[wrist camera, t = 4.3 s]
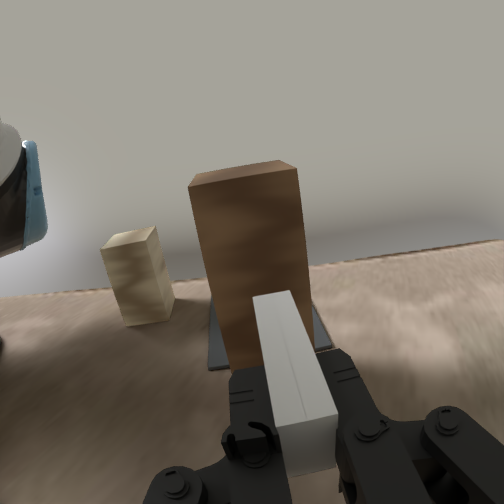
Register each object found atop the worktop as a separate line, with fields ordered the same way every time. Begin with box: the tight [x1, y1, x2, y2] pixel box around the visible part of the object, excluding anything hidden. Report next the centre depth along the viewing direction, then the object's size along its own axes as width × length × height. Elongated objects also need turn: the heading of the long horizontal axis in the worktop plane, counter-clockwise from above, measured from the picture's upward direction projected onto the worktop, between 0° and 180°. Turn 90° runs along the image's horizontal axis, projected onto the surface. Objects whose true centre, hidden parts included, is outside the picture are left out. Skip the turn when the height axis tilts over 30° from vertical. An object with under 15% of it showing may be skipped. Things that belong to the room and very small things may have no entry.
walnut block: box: [188, 160, 315, 374], centre depth 19 cm, size 5×5×15 cm
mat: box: [208, 294, 332, 370], centre depth 31 cm, size 10×13×1 cm
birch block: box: [100, 226, 175, 327], centre depth 34 cm, size 5×5×9 cm
